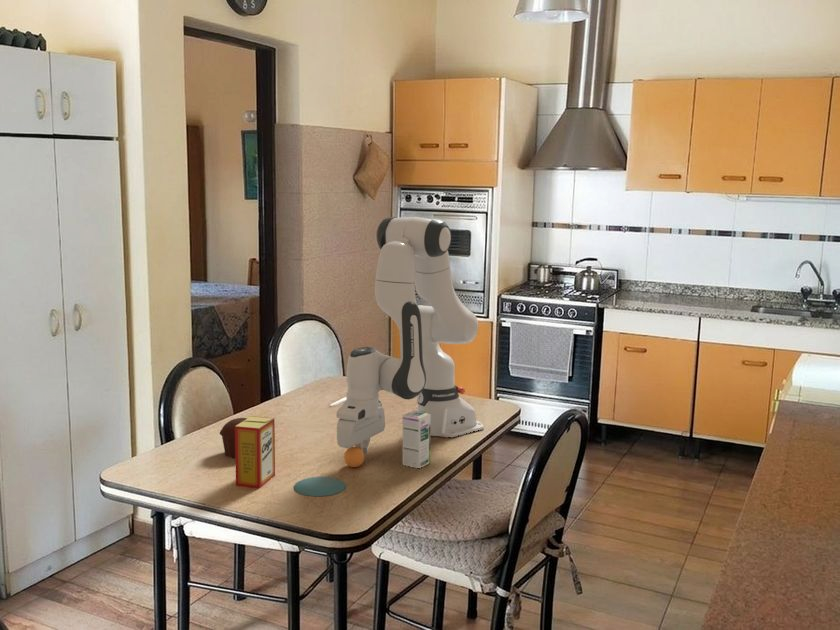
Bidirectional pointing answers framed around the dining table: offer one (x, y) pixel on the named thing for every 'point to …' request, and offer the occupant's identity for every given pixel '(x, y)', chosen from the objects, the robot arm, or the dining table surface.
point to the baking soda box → (255, 451)
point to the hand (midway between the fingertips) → (362, 454)
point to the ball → (354, 457)
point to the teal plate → (319, 486)
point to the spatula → (338, 402)
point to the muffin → (230, 436)
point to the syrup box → (416, 439)
